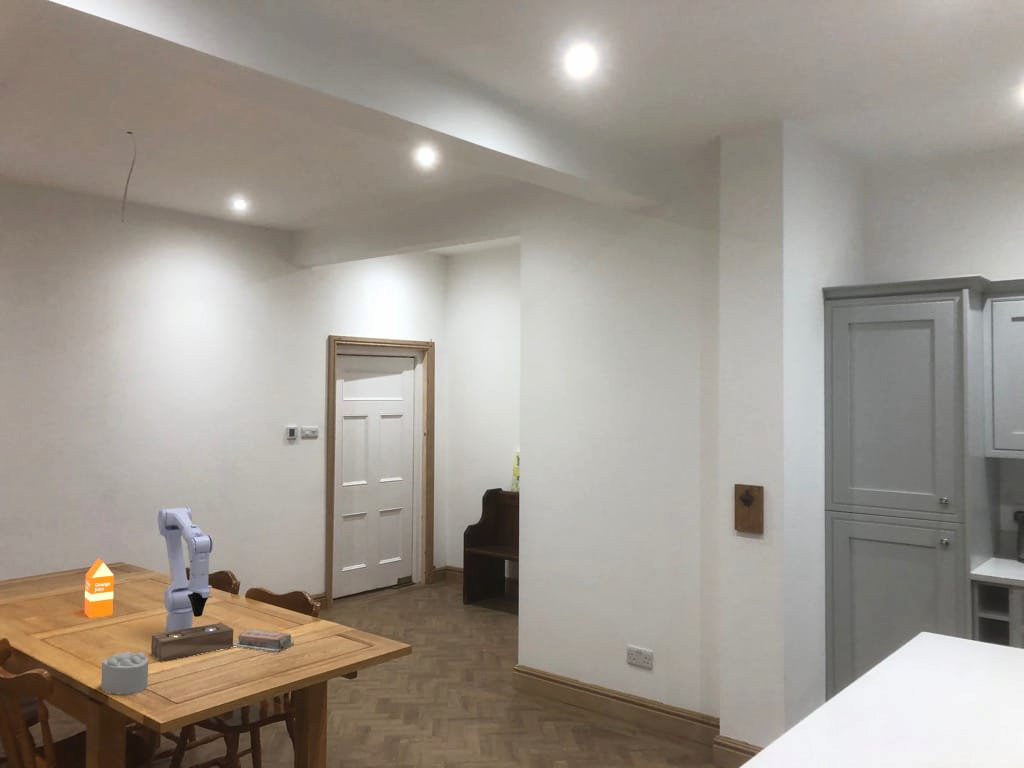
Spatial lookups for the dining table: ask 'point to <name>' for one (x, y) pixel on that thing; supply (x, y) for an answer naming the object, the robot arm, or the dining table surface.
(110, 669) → the lumpy-topped squat cylinder
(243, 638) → the packaged product
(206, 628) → the grey metal peg
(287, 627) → the dining table surface
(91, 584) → the orange juice
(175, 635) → the brass peg
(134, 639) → the dining table surface
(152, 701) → the dining table surface
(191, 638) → the walnut block
